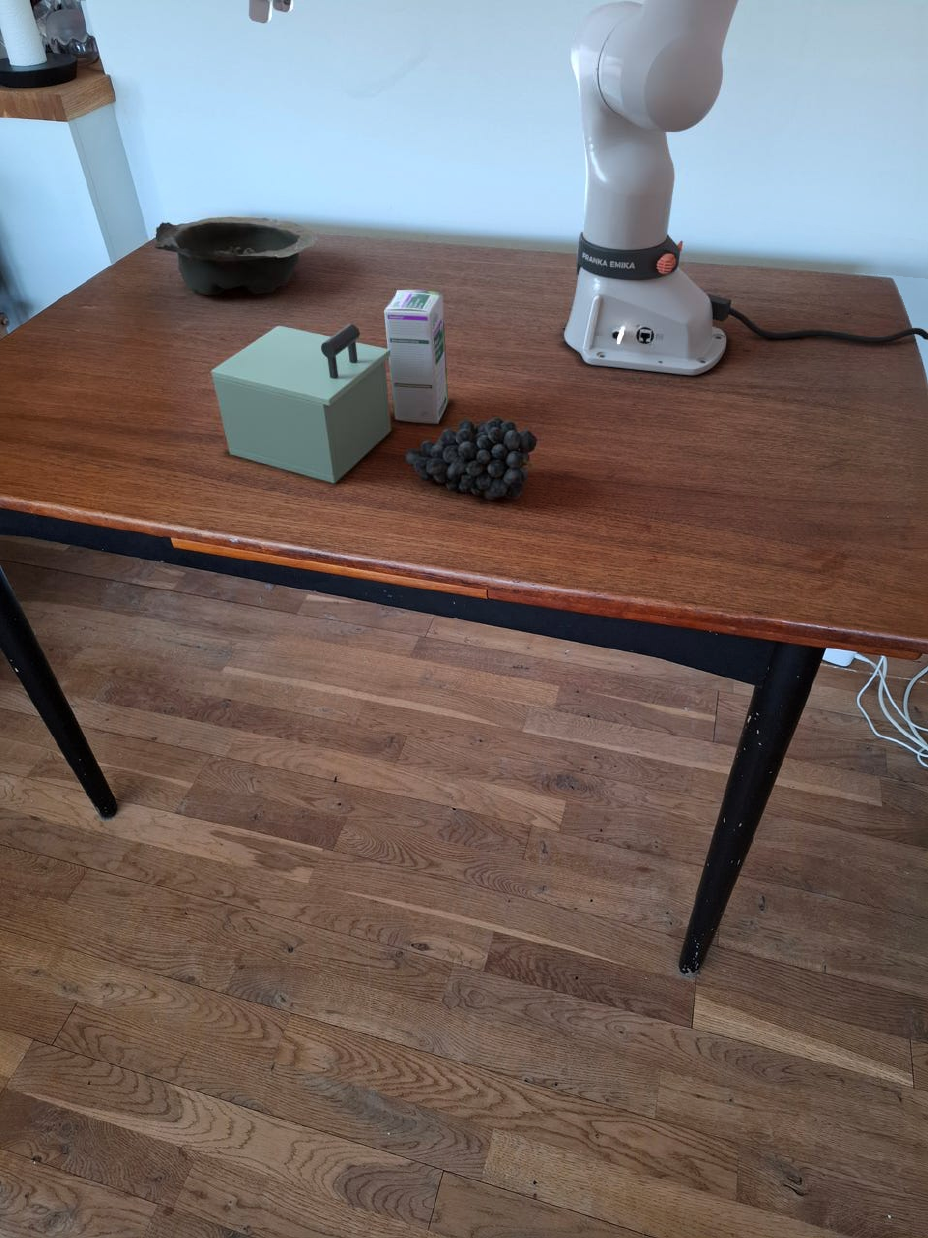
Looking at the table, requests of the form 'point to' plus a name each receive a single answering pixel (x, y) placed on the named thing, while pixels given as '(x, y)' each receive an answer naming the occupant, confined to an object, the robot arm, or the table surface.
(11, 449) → the table surface
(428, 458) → the fruit
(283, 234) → the stone bowl
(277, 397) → the chest
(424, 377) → the syrup box
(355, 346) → the lid
